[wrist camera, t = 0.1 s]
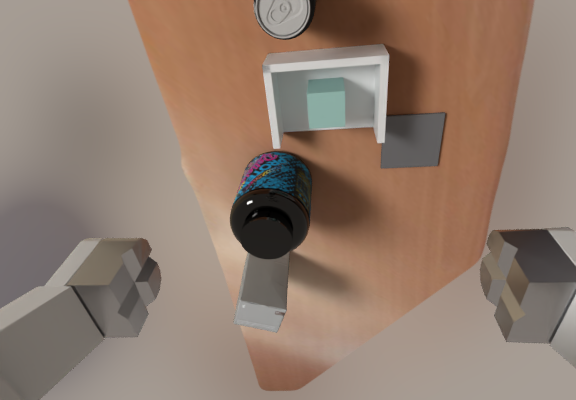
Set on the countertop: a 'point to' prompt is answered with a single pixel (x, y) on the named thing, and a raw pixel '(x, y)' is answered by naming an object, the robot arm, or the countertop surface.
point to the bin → (319, 65)
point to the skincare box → (263, 293)
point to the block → (326, 103)
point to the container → (272, 205)
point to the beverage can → (284, 16)
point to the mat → (412, 140)
